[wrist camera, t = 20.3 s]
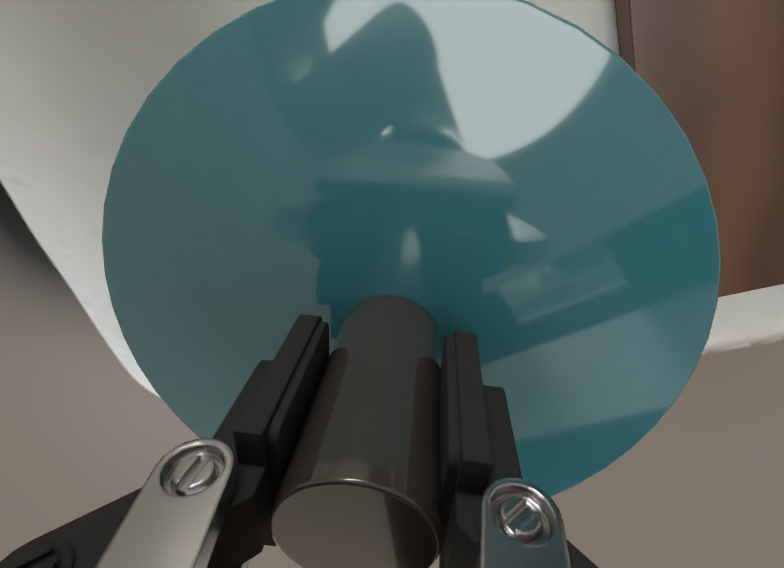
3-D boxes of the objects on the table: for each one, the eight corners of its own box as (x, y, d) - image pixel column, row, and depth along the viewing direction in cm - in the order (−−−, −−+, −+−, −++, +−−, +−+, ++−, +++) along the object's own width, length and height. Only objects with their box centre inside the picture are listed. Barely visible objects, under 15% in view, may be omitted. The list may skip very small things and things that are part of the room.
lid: (702, 463, 15) (895, 751, 9) (276, 517, 19) (195, 737, 13) (688, -179, 8) (1857, -1342, 1) (6, 135, 12) (-487, 211, 6)
